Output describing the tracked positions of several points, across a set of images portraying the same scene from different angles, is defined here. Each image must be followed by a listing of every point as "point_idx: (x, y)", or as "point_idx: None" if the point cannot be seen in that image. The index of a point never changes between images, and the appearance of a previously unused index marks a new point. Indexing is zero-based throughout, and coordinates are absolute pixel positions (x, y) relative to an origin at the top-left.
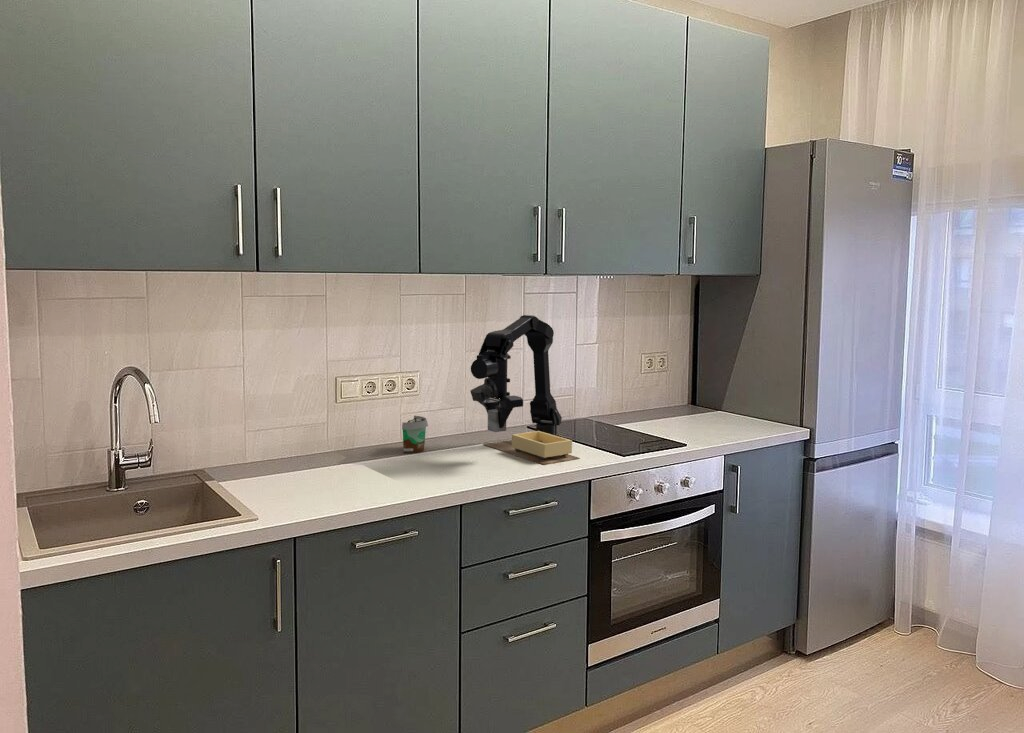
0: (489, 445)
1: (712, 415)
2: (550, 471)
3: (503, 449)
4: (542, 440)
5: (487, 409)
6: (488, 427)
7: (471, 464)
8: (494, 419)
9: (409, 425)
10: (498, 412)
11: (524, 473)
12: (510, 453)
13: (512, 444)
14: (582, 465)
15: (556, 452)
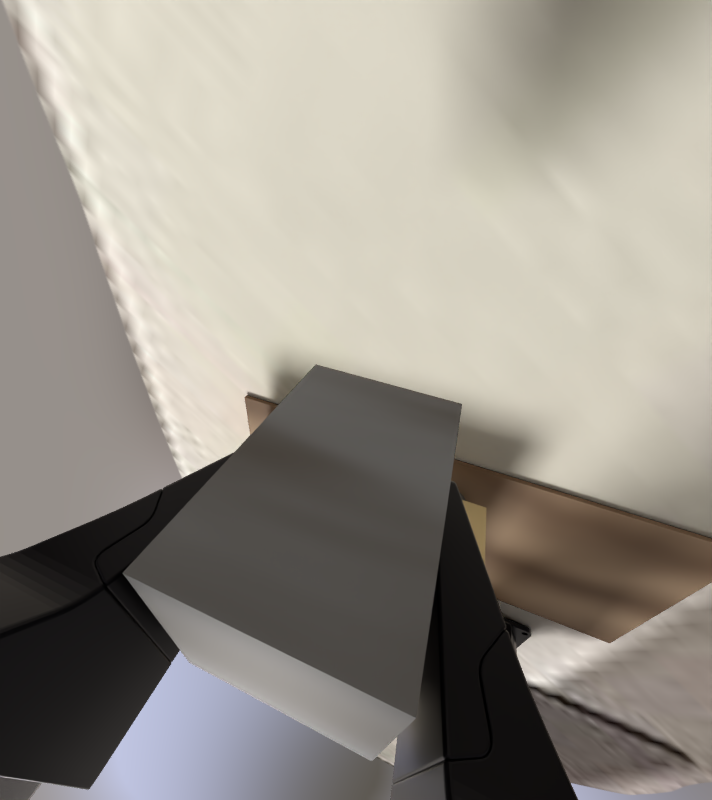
0: (680, 537)
1: (382, 751)
2: (164, 340)
3: (543, 500)
4: None
5: (493, 769)
6: (440, 418)
7: (489, 93)
8: (249, 464)
9: None
10: (97, 570)
11: (161, 234)
12: (468, 464)
13: (479, 517)
14: (200, 453)
15: None
